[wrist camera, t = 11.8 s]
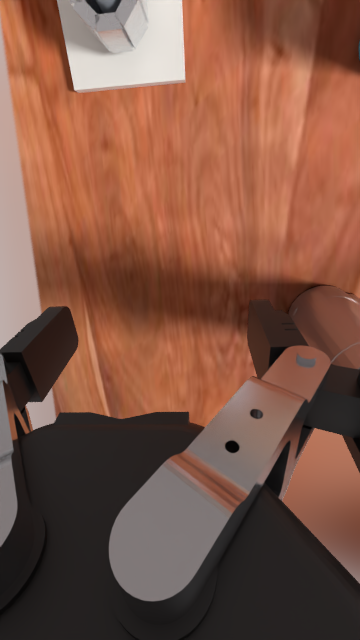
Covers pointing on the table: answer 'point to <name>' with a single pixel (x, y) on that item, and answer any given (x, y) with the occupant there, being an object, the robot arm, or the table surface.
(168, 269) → the table surface
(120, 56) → the shaft block
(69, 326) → the robot arm
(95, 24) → the ring
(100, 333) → the table surface
